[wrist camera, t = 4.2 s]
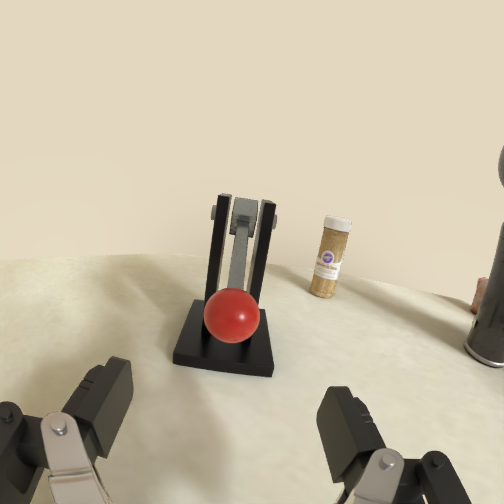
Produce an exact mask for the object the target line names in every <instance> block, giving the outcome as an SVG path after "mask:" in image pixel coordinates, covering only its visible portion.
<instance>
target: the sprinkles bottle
mask: <svg viewBox="0 0 504 504" xmlns="http://www.w3.org/2000/svg"><path fill="white" fill-rule="evenodd" d="M351 224H352V222H351V221H350V220H347V219H344V218H340V217H336V216H328V215H327V216H326V217H325V221H324V231H323V236H322V240H321V245H320V249H319V253H318V256H317V260H316V265H315V269H314V275H313V279H312V284H311V287H310V292H311V293H313V294H314V295H317V296H319V297H323V298H330V297H333V296H334V291H335V287H336V283H337V279H338V277H339V273H340V269H341V265H342V261H343V256H344V252H345V247H346V243H347V238H348V234H349V232H350V229H351Z"/></svg>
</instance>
